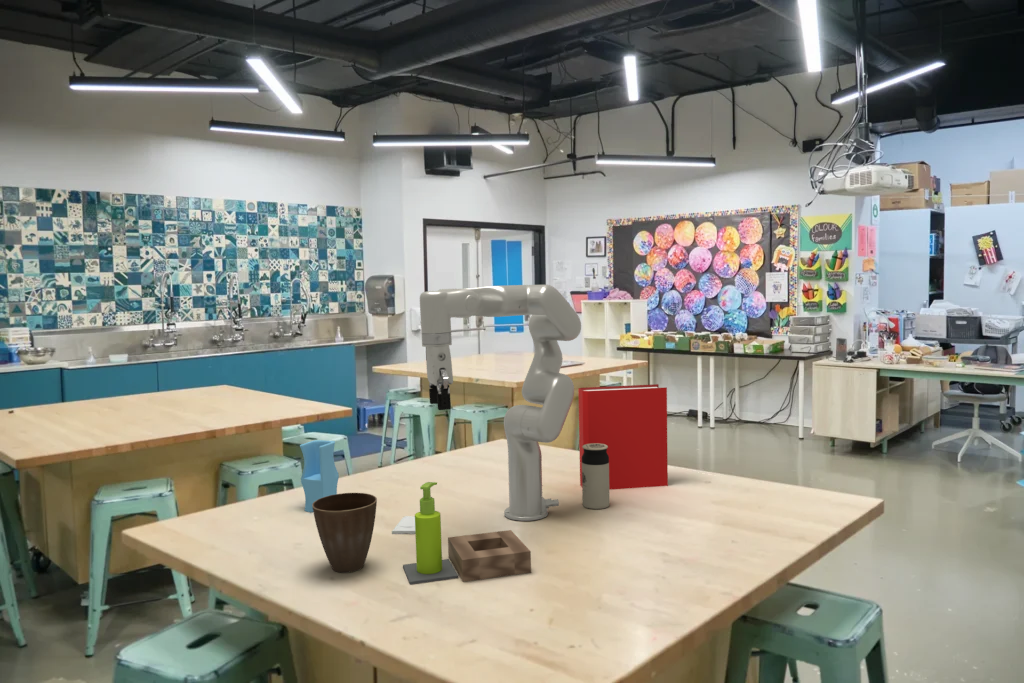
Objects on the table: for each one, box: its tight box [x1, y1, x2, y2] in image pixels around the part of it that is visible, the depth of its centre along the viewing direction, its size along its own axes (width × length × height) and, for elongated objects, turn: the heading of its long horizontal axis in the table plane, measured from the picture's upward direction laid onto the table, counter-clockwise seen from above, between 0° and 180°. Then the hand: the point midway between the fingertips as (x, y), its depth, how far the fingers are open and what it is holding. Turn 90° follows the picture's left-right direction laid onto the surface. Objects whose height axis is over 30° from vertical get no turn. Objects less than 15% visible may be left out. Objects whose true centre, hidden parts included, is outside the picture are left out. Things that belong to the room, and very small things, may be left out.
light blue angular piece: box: [299, 439, 340, 513], centre depth 228 cm, size 8×8×20 cm
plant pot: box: [312, 492, 378, 574], centre depth 180 cm, size 15×15×16 cm
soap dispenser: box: [414, 481, 443, 574], centre depth 176 cm, size 6×7×20 cm
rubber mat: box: [402, 558, 459, 585], centre depth 176 cm, size 11×11×1 cm
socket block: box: [447, 529, 532, 582], centre depth 179 cm, size 16×16×5 cm
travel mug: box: [581, 443, 611, 510], centre depth 224 cm, size 8×8×18 cm
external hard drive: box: [391, 515, 415, 535], centre depth 209 cm, size 2×8×12 cm
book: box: [578, 383, 669, 491], centre depth 246 cm, size 27×8×32 cm, turn 98°
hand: (440, 406), depth 194 cm, fingers open, 9 cm apart
